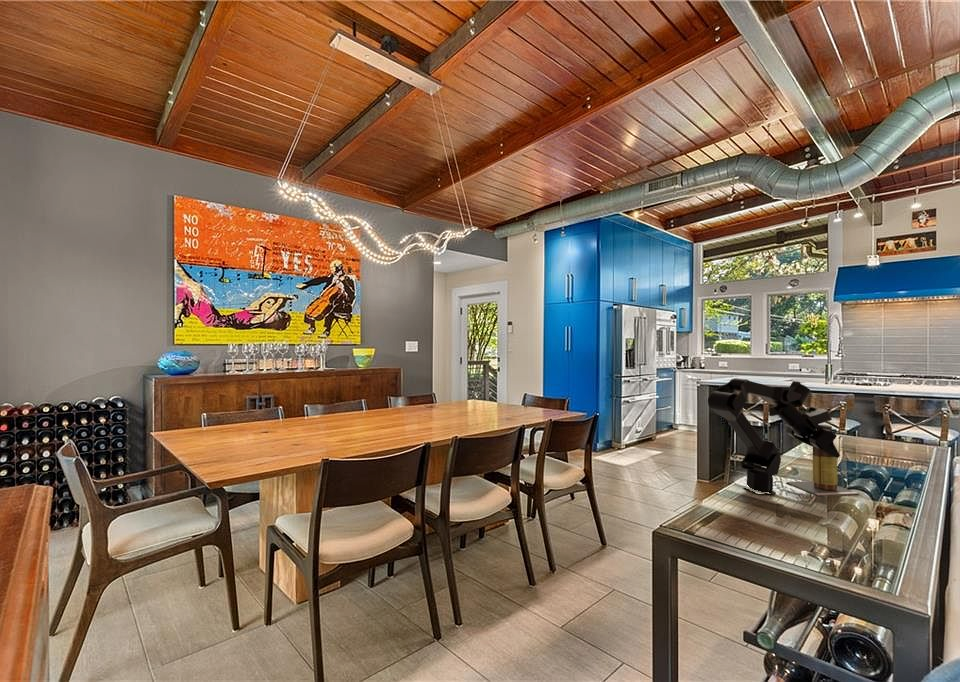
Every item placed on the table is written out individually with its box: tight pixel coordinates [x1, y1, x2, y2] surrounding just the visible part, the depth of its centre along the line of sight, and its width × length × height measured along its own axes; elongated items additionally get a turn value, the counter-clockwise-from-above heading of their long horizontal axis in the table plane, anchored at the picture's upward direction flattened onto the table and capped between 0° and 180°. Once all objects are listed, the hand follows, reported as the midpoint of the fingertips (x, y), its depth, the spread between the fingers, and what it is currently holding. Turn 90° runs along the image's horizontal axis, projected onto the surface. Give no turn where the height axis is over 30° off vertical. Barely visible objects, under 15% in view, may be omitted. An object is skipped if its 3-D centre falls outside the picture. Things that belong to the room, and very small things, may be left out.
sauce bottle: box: [812, 424, 839, 490], centre depth 143 cm, size 7×6×20 cm
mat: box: [786, 480, 859, 497], centre depth 144 cm, size 14×12×1 cm
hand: (829, 452), depth 144 cm, fingers open, 9 cm apart
